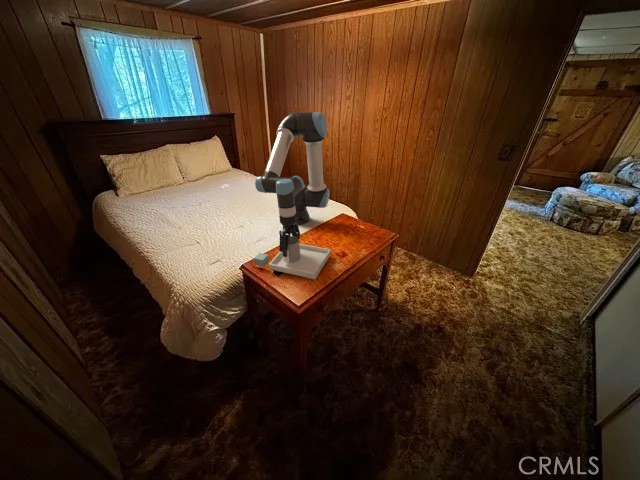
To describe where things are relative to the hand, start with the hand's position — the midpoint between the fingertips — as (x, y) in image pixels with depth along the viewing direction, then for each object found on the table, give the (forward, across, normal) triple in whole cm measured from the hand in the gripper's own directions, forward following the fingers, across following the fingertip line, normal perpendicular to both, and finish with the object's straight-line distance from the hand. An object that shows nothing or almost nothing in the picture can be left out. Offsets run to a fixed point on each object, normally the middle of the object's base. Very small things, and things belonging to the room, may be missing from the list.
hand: (291, 255), depth 125 cm
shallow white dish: (+4, 0, +5) cm, 6 cm away
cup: (+2, 0, 0) cm, 2 cm away
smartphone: (+4, +7, -6) cm, 11 cm away
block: (+4, +7, -13) cm, 15 cm away
